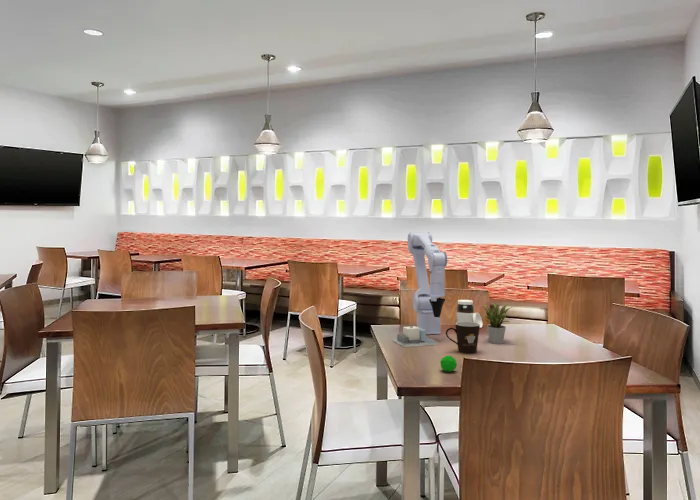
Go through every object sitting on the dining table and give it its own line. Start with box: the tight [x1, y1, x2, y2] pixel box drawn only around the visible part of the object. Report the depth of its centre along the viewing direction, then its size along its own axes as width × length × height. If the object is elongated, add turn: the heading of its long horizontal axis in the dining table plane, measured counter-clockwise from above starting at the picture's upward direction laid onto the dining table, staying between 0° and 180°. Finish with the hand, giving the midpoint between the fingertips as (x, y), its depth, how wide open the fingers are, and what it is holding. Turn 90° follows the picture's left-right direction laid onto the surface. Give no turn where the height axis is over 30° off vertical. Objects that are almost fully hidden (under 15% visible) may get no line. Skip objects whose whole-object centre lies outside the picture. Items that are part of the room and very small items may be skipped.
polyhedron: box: [439, 355, 457, 373], centre depth 162 cm, size 5×5×5 cm
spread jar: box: [456, 299, 483, 329], centre depth 234 cm, size 12×11×12 cm
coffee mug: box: [445, 322, 481, 355], centre depth 188 cm, size 12×9×10 cm
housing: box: [402, 325, 420, 340], centre depth 201 cm, size 5×4×5 cm
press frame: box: [392, 333, 439, 348], centre depth 202 cm, size 14×12×3 cm
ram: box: [418, 327, 427, 341], centre depth 202 cm, size 2×7×4 cm, turn 17°
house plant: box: [482, 302, 518, 345], centre depth 202 cm, size 14×14×16 cm
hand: (437, 317), depth 205 cm, fingers closed
